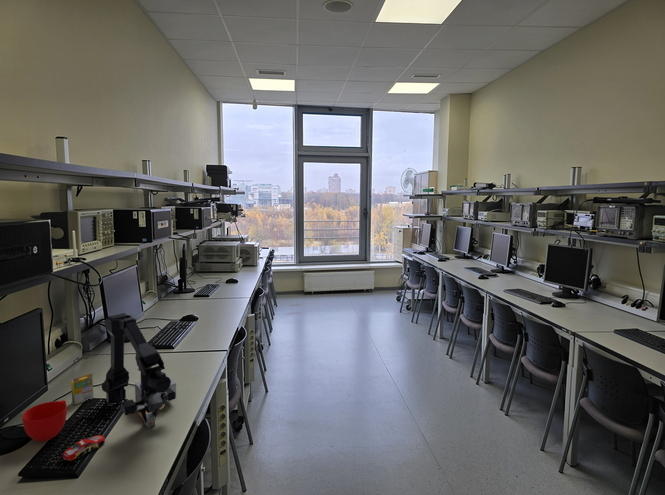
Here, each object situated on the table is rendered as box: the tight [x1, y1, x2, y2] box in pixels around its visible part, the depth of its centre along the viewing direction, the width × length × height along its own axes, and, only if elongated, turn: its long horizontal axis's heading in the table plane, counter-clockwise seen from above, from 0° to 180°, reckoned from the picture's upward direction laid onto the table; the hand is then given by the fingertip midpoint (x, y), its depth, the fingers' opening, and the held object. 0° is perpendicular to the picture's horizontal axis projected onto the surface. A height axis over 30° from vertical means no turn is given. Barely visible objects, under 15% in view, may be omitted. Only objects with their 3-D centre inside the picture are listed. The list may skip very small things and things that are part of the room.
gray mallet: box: [137, 410, 156, 428], centre depth 152 cm, size 3×15×4 cm, turn 45°
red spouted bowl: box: [21, 399, 68, 443], centre depth 140 cm, size 13×17×10 cm
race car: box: [62, 434, 106, 462], centre depth 132 cm, size 13×5×4 cm, turn 154°
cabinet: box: [134, 374, 177, 408], centre depth 163 cm, size 13×11×9 cm
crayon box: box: [70, 373, 94, 406], centre depth 163 cm, size 7×3×12 cm, turn 141°
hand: (149, 420), depth 148 cm, fingers closed on gray mallet, 3 cm apart
